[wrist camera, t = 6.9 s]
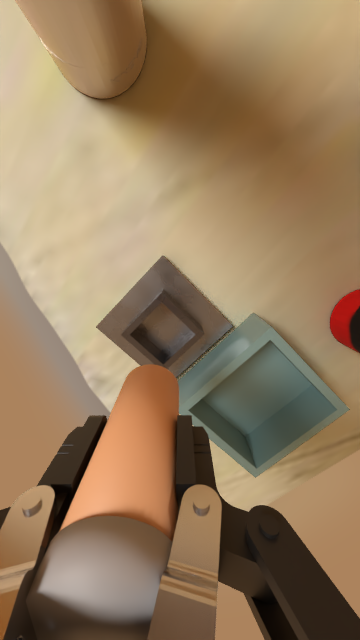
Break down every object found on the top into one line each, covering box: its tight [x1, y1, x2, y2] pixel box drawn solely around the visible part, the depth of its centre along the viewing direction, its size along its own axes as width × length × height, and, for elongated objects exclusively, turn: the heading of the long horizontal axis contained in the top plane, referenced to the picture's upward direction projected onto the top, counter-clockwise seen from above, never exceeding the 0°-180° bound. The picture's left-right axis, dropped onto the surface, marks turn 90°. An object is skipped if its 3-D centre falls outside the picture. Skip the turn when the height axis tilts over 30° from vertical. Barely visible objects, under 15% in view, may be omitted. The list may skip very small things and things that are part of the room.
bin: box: [177, 313, 350, 478], centre depth 29 cm, size 14×14×6 cm
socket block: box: [96, 256, 233, 377], centre depth 28 cm, size 12×12×4 cm
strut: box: [26, 364, 179, 640], centre depth 10 cm, size 4×4×10 cm
